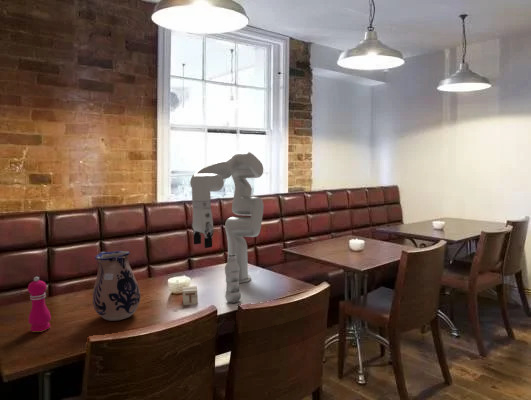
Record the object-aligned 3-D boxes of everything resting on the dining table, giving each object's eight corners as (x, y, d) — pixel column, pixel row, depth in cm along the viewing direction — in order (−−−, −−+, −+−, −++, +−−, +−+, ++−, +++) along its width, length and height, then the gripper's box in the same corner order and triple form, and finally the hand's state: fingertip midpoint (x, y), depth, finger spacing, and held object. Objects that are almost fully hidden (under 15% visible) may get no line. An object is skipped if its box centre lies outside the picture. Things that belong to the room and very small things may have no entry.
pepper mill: (35, 326, 157) (30, 274, 155) (55, 325, 158) (50, 273, 156) (25, 334, 150) (20, 280, 148) (46, 333, 151) (42, 279, 149)
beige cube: (183, 300, 182) (182, 287, 181) (197, 299, 183) (196, 285, 183) (183, 305, 176) (182, 291, 175) (197, 304, 177) (197, 290, 176)
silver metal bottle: (243, 300, 181) (242, 254, 178) (237, 305, 174) (235, 258, 172) (229, 298, 183) (228, 253, 181) (222, 303, 176) (221, 257, 174)
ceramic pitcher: (114, 329, 153) (110, 262, 150) (78, 318, 164) (74, 255, 161) (150, 313, 168) (147, 251, 165) (115, 304, 179) (112, 246, 176)
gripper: (220, 205, 169) (221, 247, 171) (200, 202, 183) (201, 241, 185) (203, 207, 165) (204, 250, 166) (184, 204, 179) (185, 243, 180)
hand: (202, 245), depth 175 cm, fingers open, 9 cm apart
